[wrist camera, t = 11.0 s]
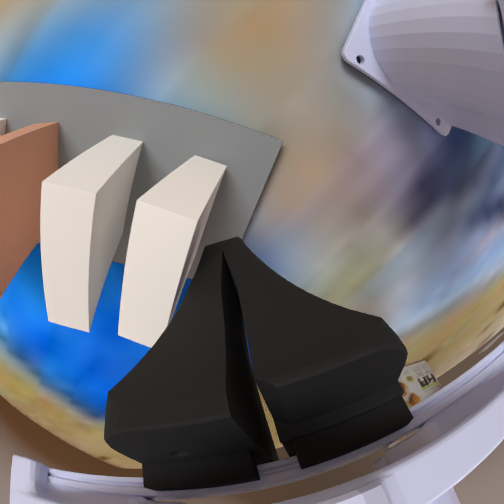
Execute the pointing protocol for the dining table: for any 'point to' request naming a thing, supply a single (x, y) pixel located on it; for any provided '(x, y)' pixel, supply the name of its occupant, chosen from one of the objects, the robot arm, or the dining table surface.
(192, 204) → the domino
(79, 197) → the domino
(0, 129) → the domino
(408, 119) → the dining table surface
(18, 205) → the domino
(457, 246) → the dining table surface
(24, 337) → the dining table surface
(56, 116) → the domino mat
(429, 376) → the coffee box
